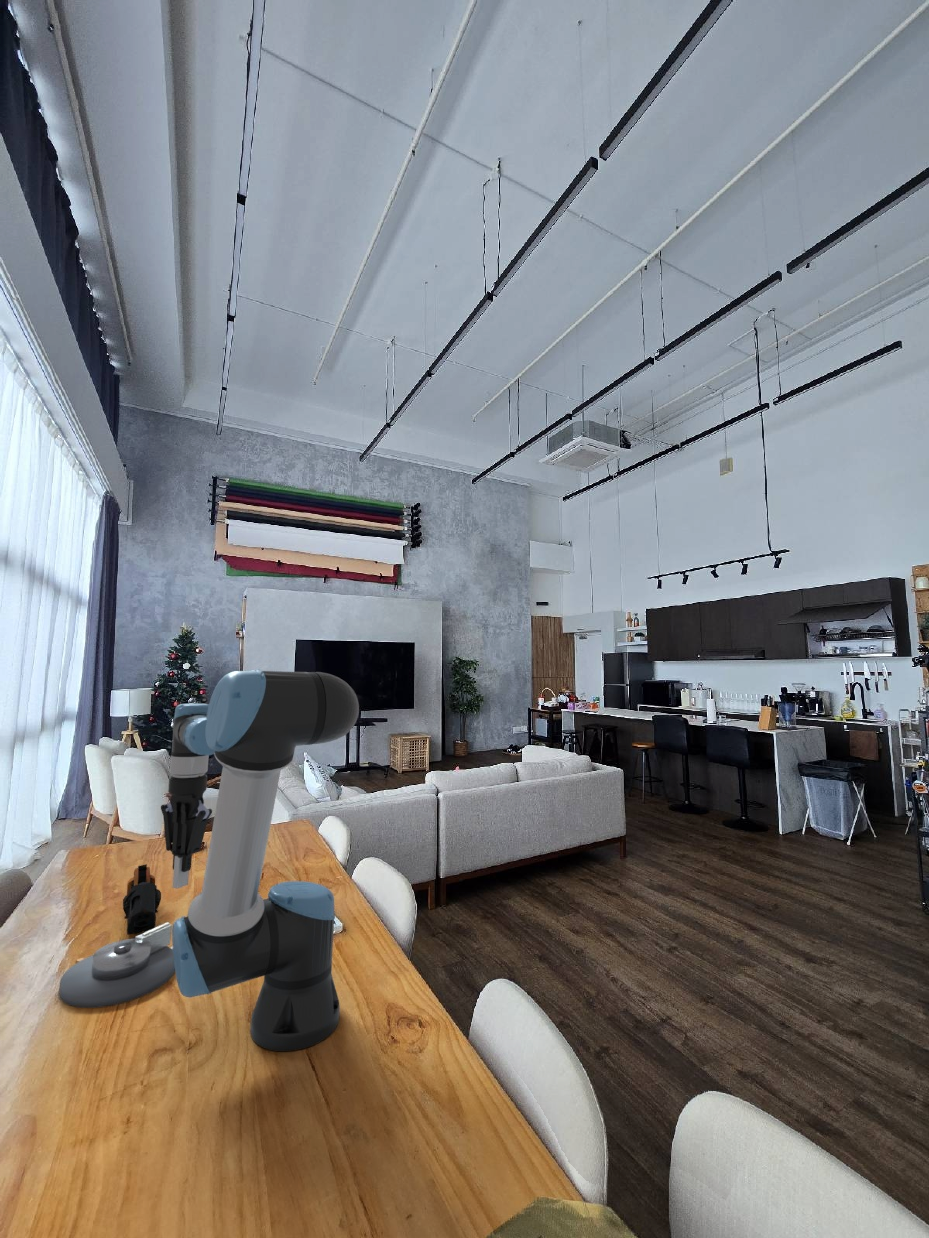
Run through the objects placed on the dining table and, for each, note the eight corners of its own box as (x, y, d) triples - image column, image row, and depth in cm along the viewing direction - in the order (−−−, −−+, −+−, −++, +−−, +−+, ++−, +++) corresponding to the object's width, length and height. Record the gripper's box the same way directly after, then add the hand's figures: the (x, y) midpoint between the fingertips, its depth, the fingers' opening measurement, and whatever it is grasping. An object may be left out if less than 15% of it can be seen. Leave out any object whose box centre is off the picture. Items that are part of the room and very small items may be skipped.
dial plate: (202, 973, 112) (202, 963, 113) (73, 1021, 96) (74, 1009, 96) (162, 937, 127) (162, 928, 128) (45, 973, 111) (46, 963, 111)
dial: (114, 984, 104) (116, 960, 104) (79, 972, 108) (81, 949, 108) (183, 947, 118) (184, 926, 119) (150, 938, 122) (152, 918, 122)
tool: (118, 969, 126) (122, 916, 123) (122, 898, 145) (125, 850, 142) (158, 960, 131) (163, 908, 127) (157, 892, 149) (161, 845, 146)
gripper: (224, 774, 121) (216, 885, 119) (181, 769, 126) (173, 875, 124) (196, 780, 114) (187, 897, 112) (152, 774, 119) (143, 886, 117)
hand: (180, 885), depth 118 cm, fingers closed
